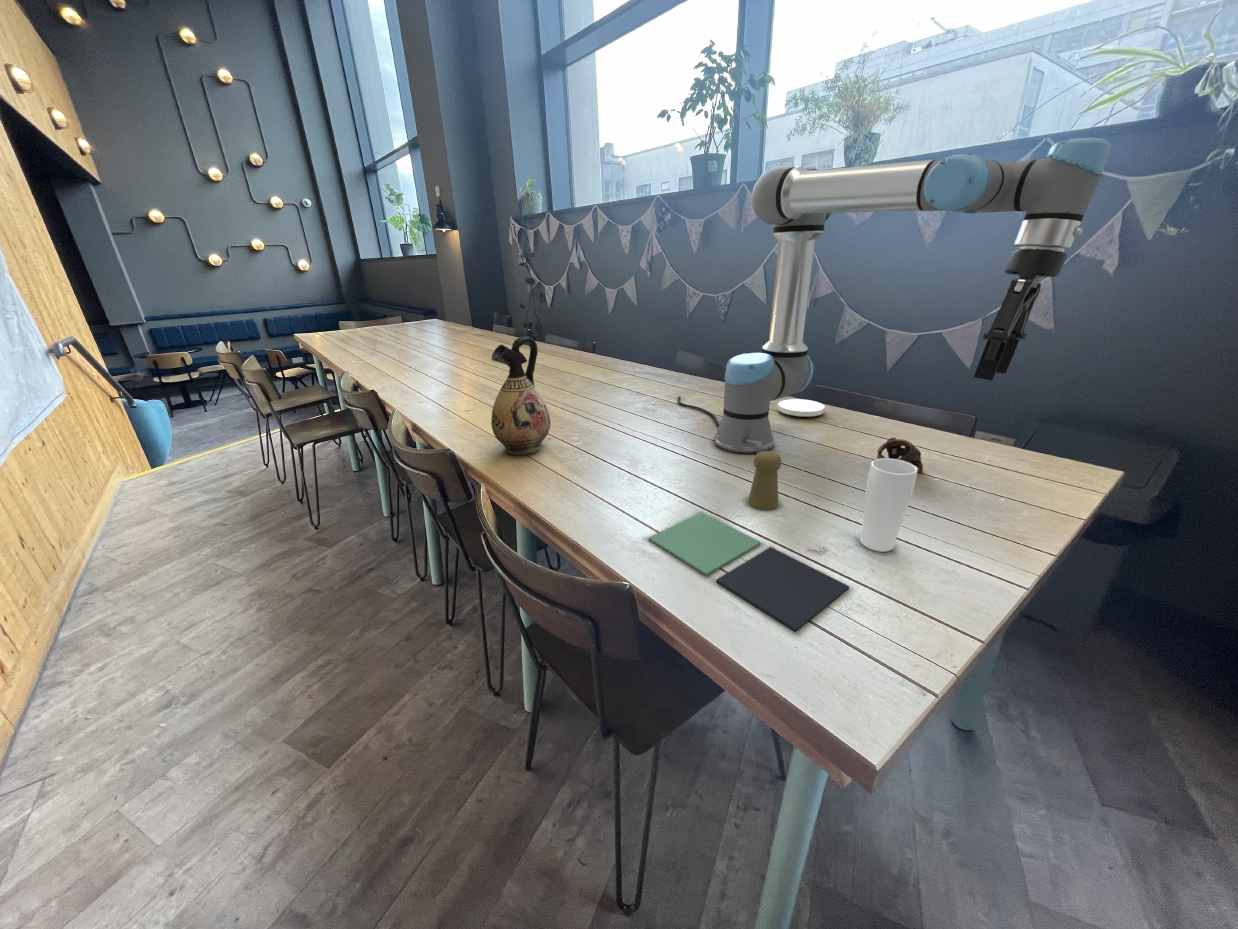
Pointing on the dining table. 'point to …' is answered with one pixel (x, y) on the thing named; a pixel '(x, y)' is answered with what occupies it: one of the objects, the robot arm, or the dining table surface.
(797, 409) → the plastic lid
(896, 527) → the drinking glass
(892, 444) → the brown notched ring
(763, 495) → the olive game pawn
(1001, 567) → the dining table surface
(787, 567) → the slate mat
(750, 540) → the sage mat
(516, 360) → the ceramic jug
